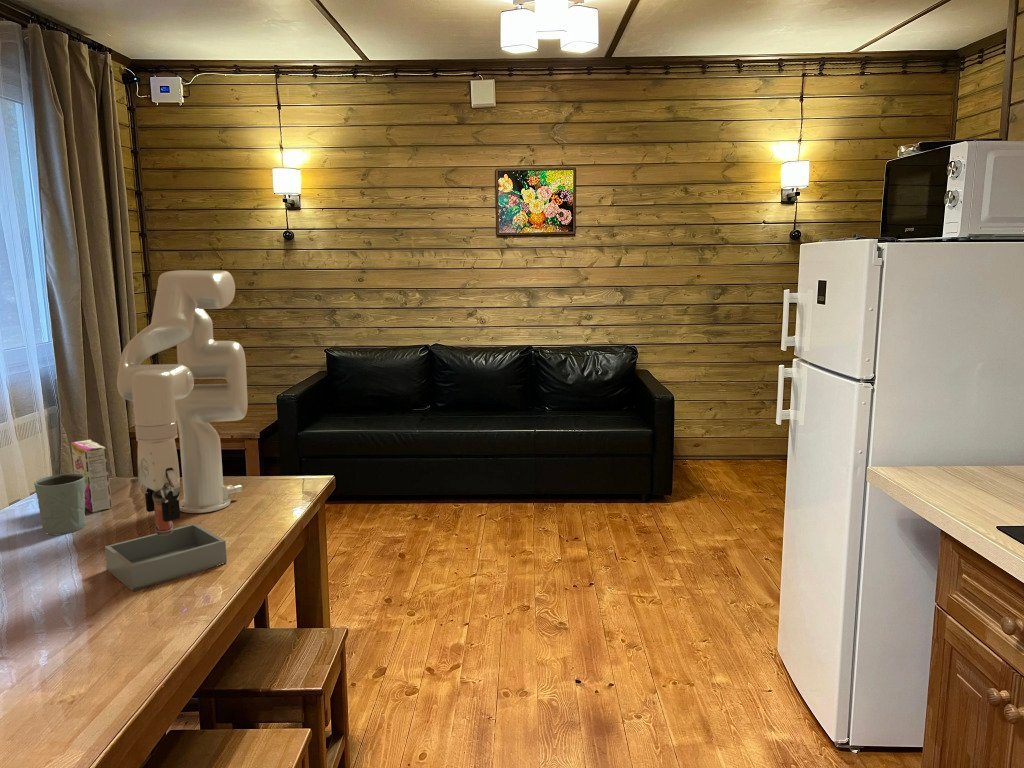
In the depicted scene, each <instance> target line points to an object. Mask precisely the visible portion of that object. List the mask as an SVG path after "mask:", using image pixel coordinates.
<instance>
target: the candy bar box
mask: <svg viewBox="0 0 1024 768" xmlns="http://www.w3.org/2000/svg"><path fill="white" fill-rule="evenodd" d="M70 445H71V456H72V464H73V471H74V472H73V474H81V475H84V476H85V489H84V491H85V492H84V495H85V497H84V498H85V510H87V511H89V512H91V513H92V512H93V513H98V512H97V511H99V512H102V510H103V511H105V510H106V509H107V510H109V509H112V500H111V491H110V481H109V470H108V462H107V452H106V447H105V446H103V445H101V444H100V443H97V442H96V441H94V440H92V439H85V440H78V441H73V442H71V443H70Z"/></svg>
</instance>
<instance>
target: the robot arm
mask: <svg viewBox="0 0 1024 768" xmlns="http://www.w3.org/2000/svg"><path fill="white" fill-rule="evenodd" d="M235 293H236V283H235V280H234V277H233V275H232V274H231V273H230V272H229V271H227V270H220V269H219V270H217V269H216V270H200V269H199V270H198V269H197V270H196V269H195V270H193V269H191V270H189V269H184V270H182V269H180V270H170V271H166V272H163V273H161V274H160V275H159V277H158V279H157V288H156V293H155V299H154V304H153V309H152V316H151V321H150V324H149V325H147V326H146V327H145V328H143V329H141V330H140V331H139V332H138V333H137V334H136V335H135V336H134V337H133V338H131V340H129V341H128V342H127V344H126V345H125V347H124V348H123V350H122V353H121V355H120V361H119V365H118V370H117V377H116V378H117V379H116V386H117V390H118V394H119V396H121V397H122V398H123V399H125V400H126V401H130V402H132V403H133V413H134V424H135V425H134V427H135V429H134V430H135V437H136V438H135V439H136V442H137V477H138V478H137V479H138V482H139V483H140V484H141V485H142V486H144V488H143V490H144V496H145V497H144V498H145V509H146V512H148V513H151V512H155V510H154V501H153V498H152V494H153V491H159V489H160V491H161V495H162V498H163V501H164V502H162V515H163V521H164V522H168V521H172V522H173V521H175V520H179V519H181V512H183V513H187V514H203V513H210V512H214V511H215V512H217V511H219V510H222V509H224V508H227V507H229V505H230V504H231V495H232V494H237V493H242V491H243V486H242V485H241V484H236V485H232V484H228V485H226V484H224V477H223V475H224V474H223V462H222V446H221V438H220V437H221V436H220V435H219V433H218V431H217V430H216V429H215V428H214V427H213V426H212V425H211V423H213V422H216V423H217V422H235V421H237V422H238V421H241V420H243V419H244V418H245V417H246V415H247V414H248V413H247V412H248V405H249V404H248V403H249V402H248V384H247V383H248V380H247V363H246V362H247V361H246V354H245V351H244V347H243V346H242V345H241V344H240V343H239V342H238V341H234V340H215V339H214V325H213V320H212V319H211V317H210V316H209V314H208V313H207V312H206V310H219V309H223V308H226V307H227V306H229V305H231V303H232V302H233V300H234V298H235V296H236V295H235ZM173 347H176V356H177V357H176V358H177V363H176V364H175V363H173V364H172V363H168V364H167V363H166V364H162V363H161V364H142V363H143V362H144V361H145V360H147V359H149V358H150V357H151V356H153V355H156V354H157V353H158V354H159V353H160V352H163V351H165V350H168V349H171V348H173ZM198 379H199V380H206V379H207V380H208V379H209V380H211V379H223V380H225V381H226V382H227V383H203V384H201V383H199V384H198V383H197V384H195V380H198ZM178 437H179V438H178ZM177 438H178V439H179V447H180V448H179V449H180V450H179V452H180V464H181V473H182V474H181V476H182V477H181V478H182V491H183V499H182V500H180V494H181V493H180V489H181V484H180V480H181V479H180V467H179V466H180V465H179V458H178V457H179V456H178V452H177V445H176V440H175V439H177ZM164 485H165V486H166V487H163V486H164ZM168 490H169V492H168V494H166V491H168Z"/></svg>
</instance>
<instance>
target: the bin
mask: <svg viewBox="0 0 1024 768" xmlns="http://www.w3.org/2000/svg"><path fill="white" fill-rule="evenodd" d="M104 553H105V554H104V555H105V563H106V564H105V565H106V570H107V571H108V572H109V573H110V574H112V575H113V576H114V577H115V578H117V579H118V580H119V581H120V582H121V583H122V584H123V585H125V586H126V587H127V588H128V589H130V590H131V591H132V592H137V591H139V590H143V588H144V589H147V588H150V587H153V586H152V585H154V586H156V585H155V584H157V585H159V584H158V583H160V584H163V583H162V582H164V583H166V582H165V581H167V582H170V581H172V580H176V579H180V578H183V577H186V575H187V576H190V575H193V574H196V572H197V573H199V571H200V572H202V571H206V570H205V569H207V570H209V569H208V568H210V569H212V568H211V567H213V568H215V567H214V566H217V565H219V564H222V563H226V562H227V563H228V561H227V560H228V559H227V558H228V557H227V547H226V540H225V539H223V538H222V537H219V536H218V535H217V534H214V533H213V532H211V531H210V530H208V529H205V528H204V527H202V525H199V524H198V523H192V524H189V525H185V526H180V527H175V528H173V531H172V533H171V534H169V535H164V536H159V535H157V533H156V532H155V533H153V534H148V535H144V536H141V537H137V538H133V539H129V540H126V541H125V540H124V541H121V542H116V543H113V544H110V545H105V546H104ZM217 567H218V566H217ZM149 586H150V587H149ZM146 587H147V588H146ZM136 590H137V591H136Z"/></svg>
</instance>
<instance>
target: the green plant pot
mask: <svg viewBox="0 0 1024 768" xmlns="http://www.w3.org/2000/svg"><path fill="white" fill-rule="evenodd" d="M33 484H34V489H35V493H36V494H35V495H36V499H37V500H38V501H37V504H38V508H39V509H38V510H39V516H40V519H41V527H42V532H43V533H44V532H45V533H44V534H46V533H48V534H47V535H49V534H60V535H65V533H67V534H71V532H72V533H75V532H77V530H78V531H80V530H82V529H84V527H85V526H86V514H85V513H86V508H85V498H84V497H85V495H84V492H85V491H84V489H85V476H84V475H81V474H74V473H64V474H56V475H50V476H49V475H48V476H45V477H42V478H40V479H37V480H35V481H34V483H33ZM81 528H82V529H81ZM79 529H80V530H79ZM74 531H75V532H74Z"/></svg>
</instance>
